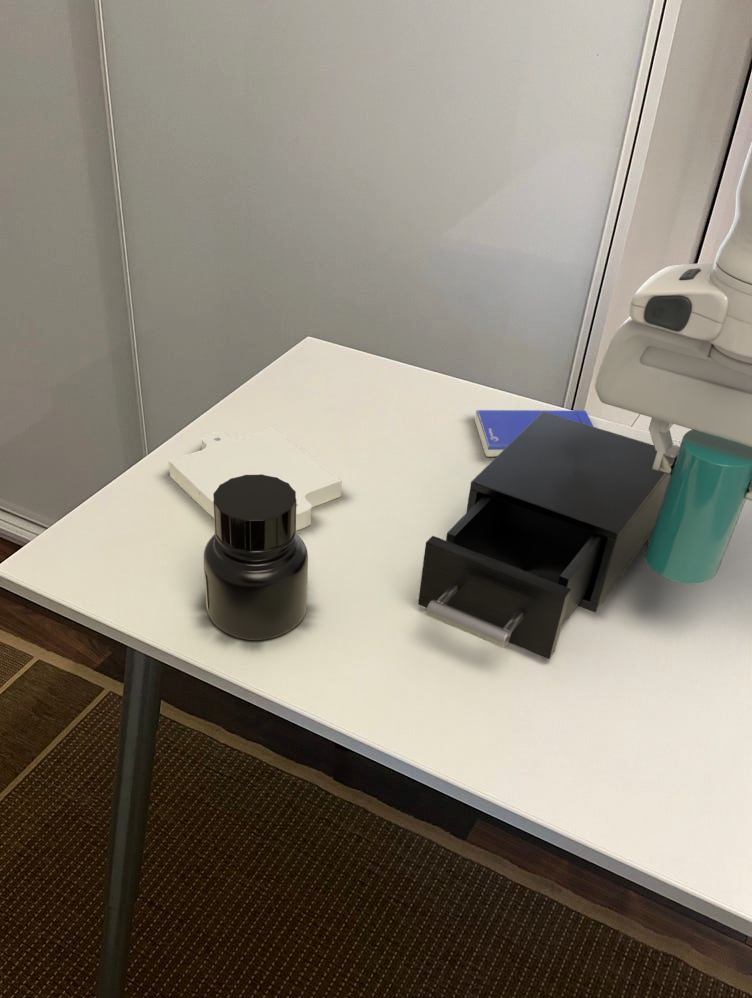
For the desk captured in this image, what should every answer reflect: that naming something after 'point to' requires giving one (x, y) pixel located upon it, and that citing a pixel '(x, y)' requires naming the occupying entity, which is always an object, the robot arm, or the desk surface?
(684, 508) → the teal cylinder
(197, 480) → the mounting plate
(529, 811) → the desk surface
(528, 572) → the drawer
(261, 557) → the ink bottle
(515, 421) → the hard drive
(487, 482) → the cabinet
